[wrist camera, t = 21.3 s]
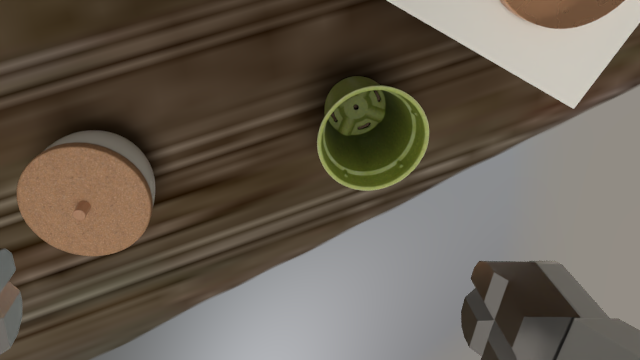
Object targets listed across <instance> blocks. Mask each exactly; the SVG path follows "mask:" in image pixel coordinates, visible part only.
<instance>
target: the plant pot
mask: <svg viewBox="0 0 640 360" xmlns="http://www.w3.org/2000/svg"><path fill="white" fill-rule="evenodd" d="M374 90H376V91H377V92H378V93H379V95H380V98H381V100H380V102H378V100H377V97H376V95H375V93H374ZM354 105H358V109H357V110H355V109H354ZM333 112H334V115H335V117H336V119H337V120H338V122H334V119H333V118H332V117H331V114H332V113H333ZM369 122H370V125H369V126H368V127H367V128H364V129H360V130H359V129H358V127H360V126H363V125H365V124H367V123H369ZM428 140H429V125H428V121H427V117H426V115H425V113H424V111H423V109H422V107H421V106H420V105H419V103H418V102H417V101H416V100H415V99H414V98H412V97H411V96H410V95H409V94H407V93H406V92H404V91H402V90H400V89H397V88H394V87H390V86H385V85H380V84H378V83H377V82H375V81H374V80H372V79H370V78H366V77H362V76H353V77H348V78H345V79H343V80H341V81H340V82H338V83H337V84H336V85H335V86H334V87H333V88H332V89H331V90H330V92H329V94H328V96H327V98H326V101H325V112H324V118H323V120H322V122H321V125H320V128H319V131H318V137H317V149H318V155H319V158H320V161H321V163H322V165H323V167H324V168H325V170H326V171H327V173H328V174H329V175H330V176H331V177H332V178H333V179H334V180H336V181H337V182H338V183H340V184H342V185H344V186H347V187H349V188H352V189H356V190H364V191H367V190H378V189H382V188H386V187H388V186H391V185H393V184H395V183H397V182H399V181H401V180H402V179H404V178H405V177H406V176H408V175H409V174H410V173H411V172H412V171H413V170H414V169H415V167H416V166H417V165H418V164H419V162H420V161H421V159H422V157H423V156H424V154H425V151H426V148H427V145H428Z"/></svg>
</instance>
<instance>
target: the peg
mask: <svg viewBox="0 0 640 360" xmlns="http://www.w3.org/2000/svg"><path fill="white" fill-rule="evenodd" d="M624 1H625V0H500V2H501V3H502V4H503V5H504V6H505V7H506V8H507V9H508V10H509V11H510V12H512V13H513V14H514V15H516V16H517V17H519V18H521V19H523V20H526V21H528V22H531V23H534V24H536V25H539V26H543V27H546V28H553V29H567V28H575V27H579V26H582V25H586V24H588V23H591V22H593V21H596V20H598V19H599V18H601V17H603V16H605V15H607V14H608V13H610V12H611V11H612V10H614V9H615V8H617V7H618V6H619V5H620V4H621V3H623V2H624Z"/></svg>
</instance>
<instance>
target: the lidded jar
mask: <svg viewBox="0 0 640 360" xmlns="http://www.w3.org/2000/svg"><path fill="white" fill-rule="evenodd" d="M154 199H155V178H154V173H153V170H152V167H151V165H150V163H149V161H148V159H147V158H146V156H145V155H144V153H143V152H142V151H141V150H140V149H139V148H138V147H137V146H136V145H135V144H134V143H132V142H131V141H129V140H128V139H126V138H124V137H122V136H120V135H118V134H115V133H111V132H107V131H101V130H87V131H80V132H76V133H72V134H70V135H67V136H65V137H63V138H60V139H59V140H57V141H56V142H54V143H52V144H51V145H49V146H48V147H47V148H46V149H45V150H44V151H43V152H42V153H40V154H39V155H37V156H36V157H35V158H34V159H33V160H32V161H31V162H30V163H29V164H28V165H27V166H26V168H25V169H24V170H23V172H22V174H21V176H20V178H19V181H18V186H17V201H18V206H19V209H20V212H21V214H22V216H23V218H24V220H25V221H26V223H27V224H28V226H29V227H30V228H31V229H32V230H33V231H34V232H35V233H36V234H37V235H38V236H39V237H40V238H41V239H43V240H44V241H46V242H47V243H49V244H50V245H52V246H54V247H56V248H58V249H60V250H63V251H66V252H69V253H73V254H76V255H84V256H101V255H108V254H112V253H116V252H119V251H121V250H124V249H126V248H127V247H129V246H131V245H132V244H133V243H135V242H136V241H137V240H138V239H139V238H140V237H141V236H142V234H143V233H144V232H145V230H146V228H147V226H148V224H149V221H150V218H151V215H152V208H153V204H154Z"/></svg>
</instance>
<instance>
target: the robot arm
mask: <svg viewBox="0 0 640 360" xmlns="http://www.w3.org/2000/svg"><path fill="white" fill-rule="evenodd" d="M15 270H16V268H15V264H14V260H13V256H12V253H11V252H9V251H8V250H7V249H3V248H0V355H1V354H2V353H4V352H5V351H7V350H8V349H10V347H11V346H12V344H13V342H14V340H15V338H16V336H17V334H18V331H19V327H20V323H21V319H22V299H21V293H20V291H19V290H18V289H17V288H16V287H15V286H14V285H12V284H11V283H10V282H9V279H10V278H11V276H12V275H13V273H14V272H15ZM471 280H472V282H473V284H474V286H475V289H474V290H473V291H472V292H470V293H469V294H468V295H467V296H466V297H465V299H464V303H463V307H462V311H461V320H462V321H461V322H462V329H463V333H464V337H465V339H466V341H467V343H468V346H469V347H470V348H471V349H472V350H474V351H475V352H476V353H478V354H479V355H480V356H482V358H481V360H640V330H638V329H636V328H634V327H632V326H631V325H629V324H627V323H625V322H623V321H621V320H620V319H611V318H609V317H608V316H607V314H606V313H605V312H604V311H603V310H602V309H601V308H600V307H599V306H598V304H597V303H596V302H595V301H594V300H593V299H592V298H591V296H590V295H589V294H588V293H587V292H586V291H585V290H584V289H583V287H582V286H581V285H580V284H579V283H578V282H577V281H576V280H575V278H574V277H573V276H572V275H571V274H570V273H569V272H568V271H567V270H566V268H565V267H564V266H563V265H562V264H560V263H558V262H556V261H529V262H510V261H479V262H478V263H477V265H476V266H475V267H474V270H473V273H472V276H471Z"/></svg>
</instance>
